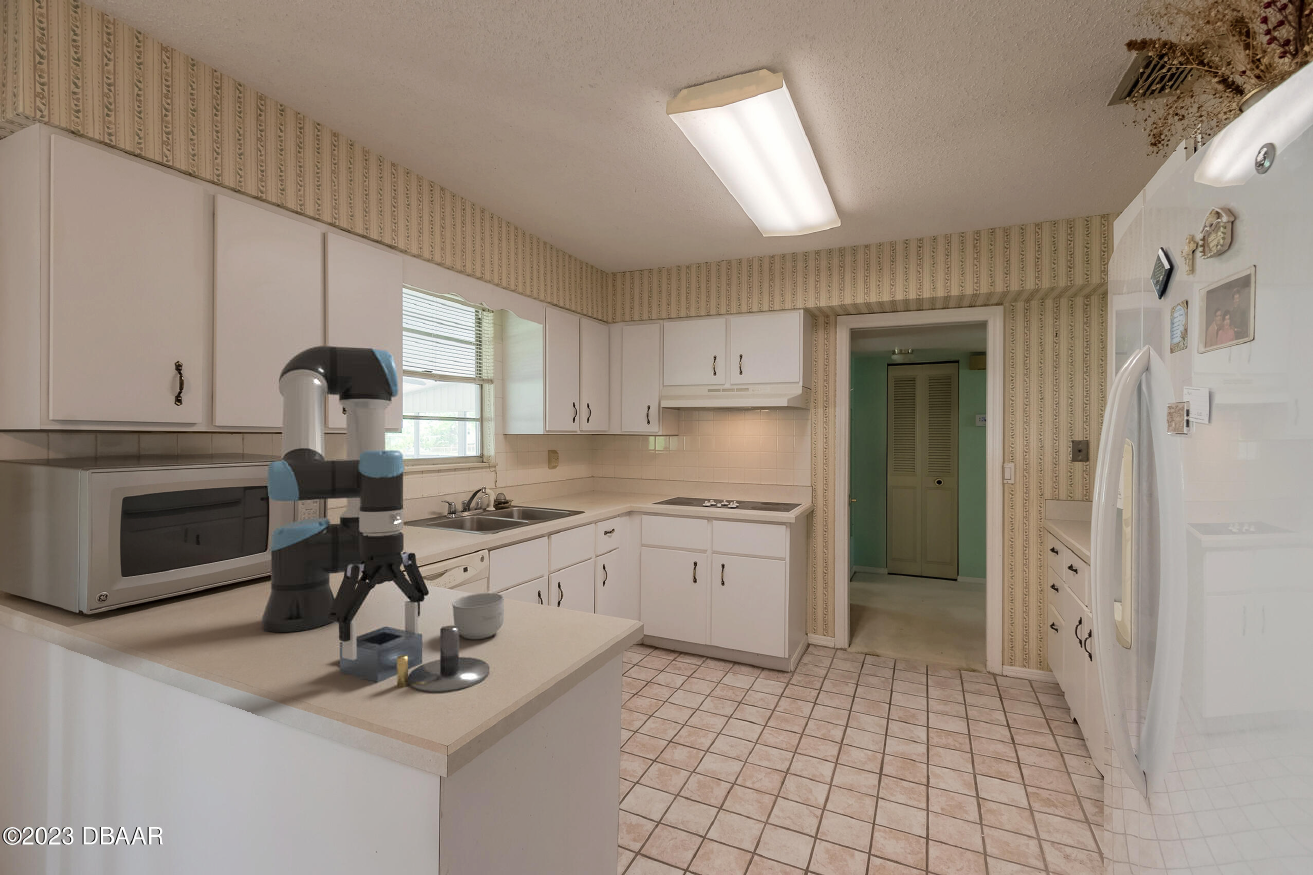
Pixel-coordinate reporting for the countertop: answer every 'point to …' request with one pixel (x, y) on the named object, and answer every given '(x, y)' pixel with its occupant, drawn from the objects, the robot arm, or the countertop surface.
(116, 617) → the countertop surface
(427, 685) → the rod on disc base
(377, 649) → the grey hollow block
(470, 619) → the teacup
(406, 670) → the dowel pin
